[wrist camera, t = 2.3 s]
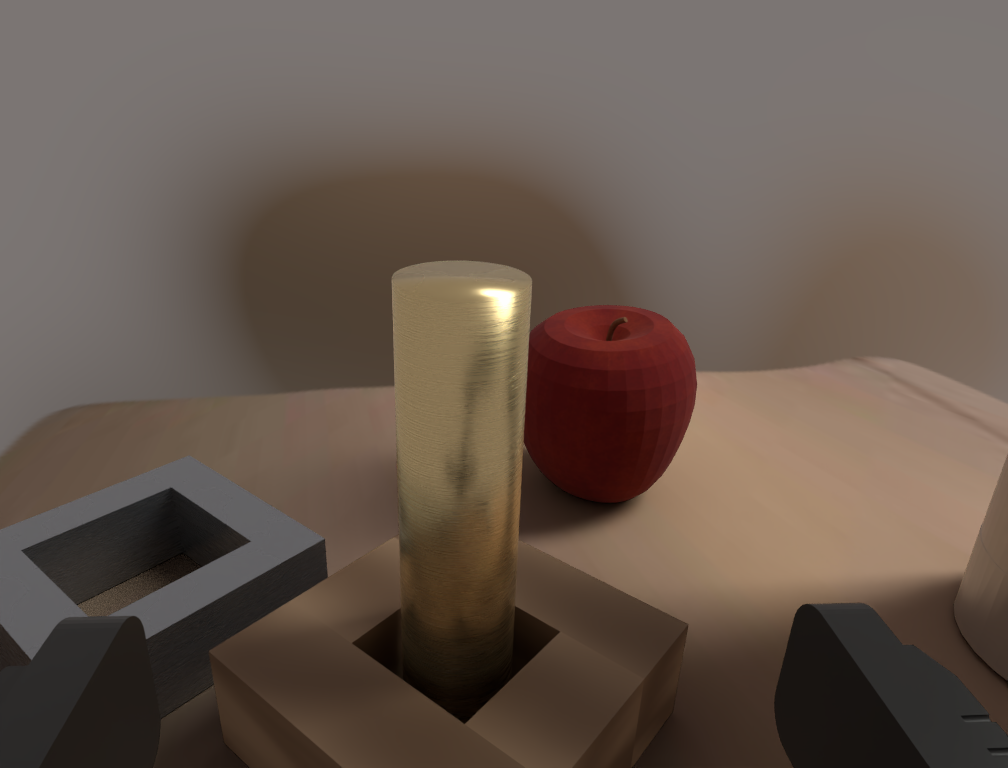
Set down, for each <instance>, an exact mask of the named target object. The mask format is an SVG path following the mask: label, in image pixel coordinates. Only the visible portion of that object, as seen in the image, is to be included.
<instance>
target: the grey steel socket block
mask: <svg viewBox="0 0 1008 768" xmlns="http://www.w3.org/2000/svg"><path fill="white" fill-rule="evenodd" d="M182 552H183V553H184V554H186V555H187V556H188V557H190V558H191V559H192V560H193V561H195V562H196V563H197V564H199V565H200V566H201V568H199V569H197V570H195V571H194V572H192V573H190V574H188V575H186V576H184V577H182V578H180V579H178V580H176V581H174V582H172V583H170V584H169V585H167V586H165V587H163V588H161V589H159V590H157V591H155V592H153V593H151V594H149V595H147V596H145V597H144V598H142V599H140V600H138V601H136V602H134V603H132V604H130V605H128V606H126V607H124V608H122V609H120V610H118V611H117V612H115V613H113V614H111V615H109V616H137V617H138V618H139V619H140V620H141V622H142V624H143V627H144V631H145V636H146V641H147V647H148V652H149V657H150V662H151V668H152V673H153V678H154V683H155V689H156V694H157V699H158V704H159V710H160V719H161V718H163V717H164V716H166V715H167V714H169V713H170V712H172V711H173V710H175V709H176V708H178V707H179V706H181V705H182V704H184V703H185V702H187V701H188V700H190V699H192V698H193V697H195V696H196V695H198V694H199V693H201V692H202V691H204V690H205V689H207V688H208V687H210V686H211V685H213V684H214V681H213V675H212V669H211V663H210V657H209V650H211V649H213V648H214V647H216V646H218V645H219V644H221V643H222V642H224V641H226V640H227V639H229V638H231V637H232V636H234V635H236V634H237V633H239V632H240V631H242V630H244V629H245V628H247V627H249V626H250V625H252V624H253V623H255V622H257V621H258V620H260V619H262V618H263V617H265V616H266V615H268V614H270V613H271V612H273V611H275V610H276V609H278V608H279V607H281V606H283V605H284V604H286V603H288V602H289V601H291V600H292V599H294V598H296V597H297V596H299V595H301V594H302V593H304V592H305V591H307V590H309V589H310V588H312V587H314V586H315V585H317V584H318V583H320V582H322V581H323V580H325V579H327V578H328V575H327V562H326V549H325V539H324V538H323V537H321V536H320V535H318V534H316V533H315V532H313V531H311V530H310V529H308V528H307V527H305V526H303V525H302V524H300V523H298V522H297V521H295V520H294V519H292V518H290V517H289V516H287V515H285V514H284V513H282V512H281V511H279V510H277V509H276V508H274V507H272V506H271V505H269V504H267V503H266V502H264V501H263V500H261V499H259V498H258V497H256V496H254V495H253V494H251V493H250V492H248V491H246V490H245V489H243V488H241V487H240V486H238V485H237V484H235V483H233V482H232V481H230V480H228V479H227V478H225V477H224V476H222V475H220V474H219V473H217V472H215V471H214V470H212V469H210V468H209V467H207V466H206V465H204V464H202V463H201V462H199V461H197V460H196V459H194V458H193V457H191V456H187V457H184V458H182V459H179V460H177V461H174V462H172V463H169V464H166V465H164V466H161V467H159V468H156V469H154V470H151V471H149V472H146V473H144V474H141V475H138V476H136V477H133V478H131V479H128V480H126V481H123V482H121V483H118V484H116V485H113V486H110V487H108V488H105V489H103V490H100V491H98V492H95V493H93V494H90V495H88V496H85V497H82V498H80V499H77V500H75V501H72V502H70V503H67V504H65V505H62V506H60V507H57V508H54V509H52V510H49V511H47V512H44V513H42V514H39V515H37V516H34V517H32V518H29V519H26V520H24V521H21V522H19V523H16V524H14V525H11V526H9V527H6V528H4V529H1V530H0V671H2V670H3V669H4V668H5V667H7V666H28V665H29V663H30V662H31V660H32V659H33V657H34V656H35V655H36V653H37V652H38V650H39V649H40V647H41V646H42V645H43V643H44V642H45V640H46V639H47V637H48V636H49V635H50V633H51V632H52V630H53V629H54V628H55V626H56V625H57V624H58V623H59V622H60V621H61V620H63V619H65V618H68V617H88V616H87V615H86V614H85V613H84V612H83V611H82V610H81V609H80V608H79V607H78V606H77V604H79V603H81V602H83V601H85V600H87V599H89V598H91V597H93V596H95V595H97V594H99V593H101V592H103V591H105V590H107V589H109V588H112V587H114V586H116V585H118V584H120V583H122V582H124V581H126V580H128V579H130V578H132V577H134V576H136V575H138V574H140V573H142V572H144V571H146V570H148V569H150V568H152V567H154V566H156V565H158V564H160V563H162V562H164V561H166V560H168V559H170V558H172V557H174V556H176V555H178V554H180V553H182Z"/></svg>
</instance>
